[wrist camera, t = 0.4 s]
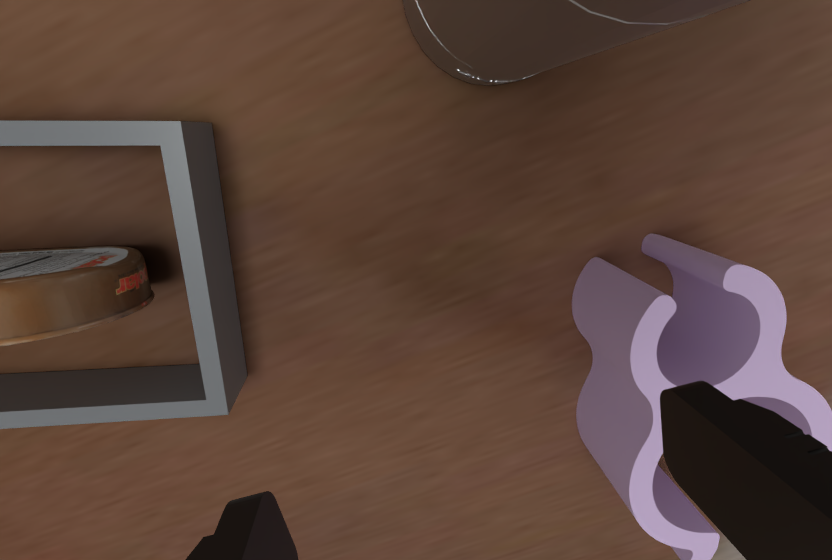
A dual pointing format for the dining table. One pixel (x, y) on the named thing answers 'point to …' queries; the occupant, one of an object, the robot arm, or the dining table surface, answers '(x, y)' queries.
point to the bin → (205, 283)
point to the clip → (679, 372)
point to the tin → (68, 290)
